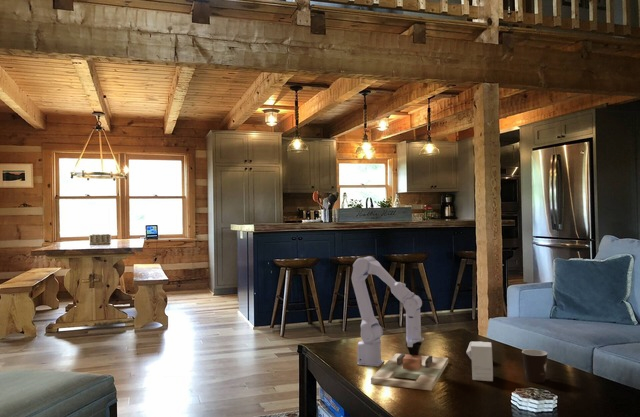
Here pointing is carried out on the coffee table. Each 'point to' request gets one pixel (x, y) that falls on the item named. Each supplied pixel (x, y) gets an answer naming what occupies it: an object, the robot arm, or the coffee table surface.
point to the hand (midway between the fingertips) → (414, 361)
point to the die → (470, 350)
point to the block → (412, 362)
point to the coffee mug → (535, 365)
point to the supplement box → (482, 361)
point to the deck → (410, 373)
